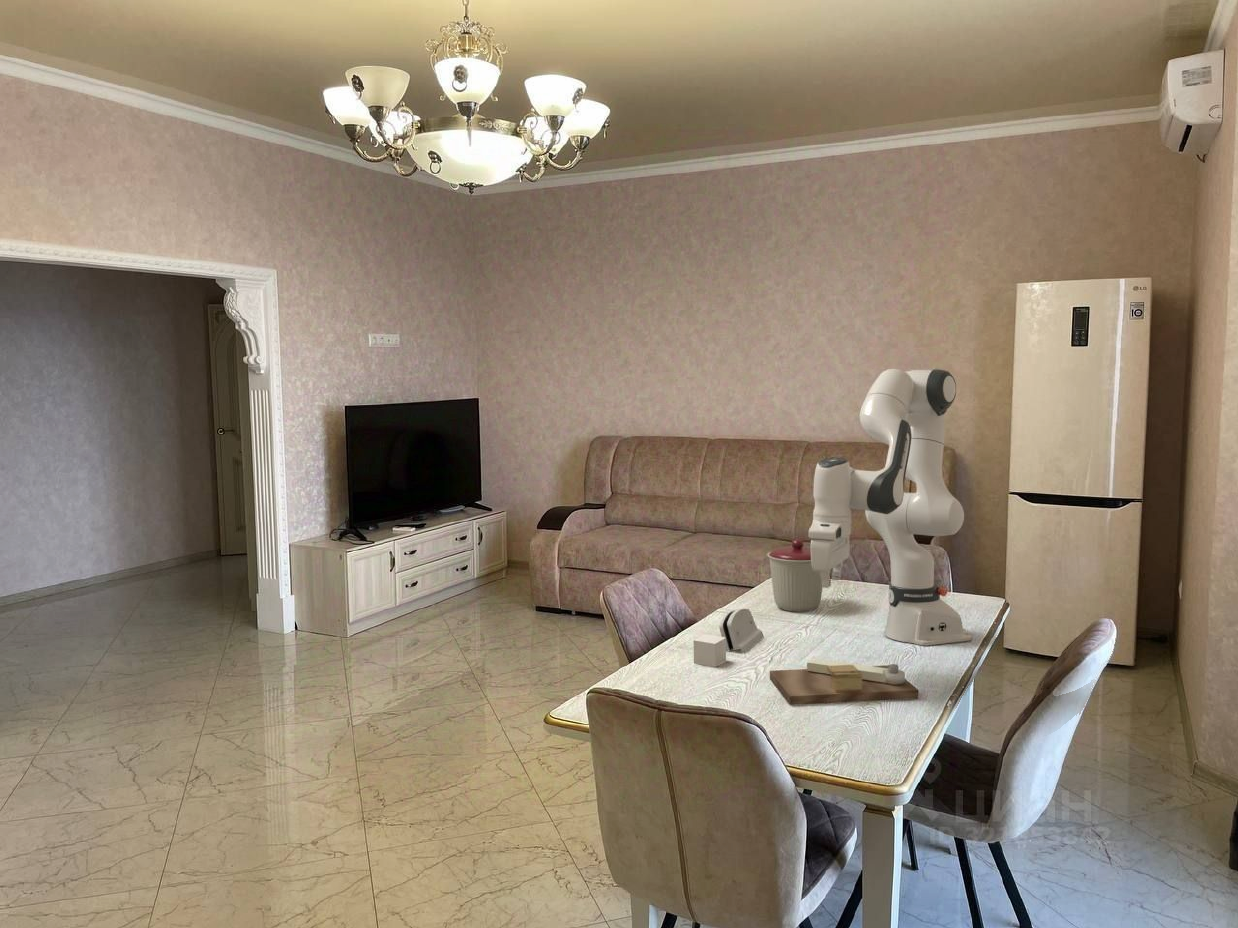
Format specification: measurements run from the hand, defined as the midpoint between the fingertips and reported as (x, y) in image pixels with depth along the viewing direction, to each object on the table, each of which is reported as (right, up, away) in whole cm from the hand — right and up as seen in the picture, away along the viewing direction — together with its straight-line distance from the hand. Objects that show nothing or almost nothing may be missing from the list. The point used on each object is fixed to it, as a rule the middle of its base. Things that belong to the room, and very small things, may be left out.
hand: (831, 583), depth 220 cm
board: (0, -23, -11) cm, 25 cm away
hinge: (-19, -20, +25) cm, 37 cm away
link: (+4, -20, -9) cm, 22 cm away
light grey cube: (-28, -21, +10) cm, 37 cm away
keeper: (-1, -21, -15) cm, 26 cm away
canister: (+3, -15, +60) cm, 62 cm away
